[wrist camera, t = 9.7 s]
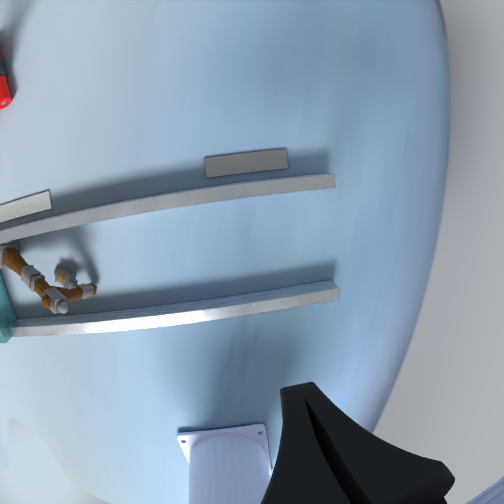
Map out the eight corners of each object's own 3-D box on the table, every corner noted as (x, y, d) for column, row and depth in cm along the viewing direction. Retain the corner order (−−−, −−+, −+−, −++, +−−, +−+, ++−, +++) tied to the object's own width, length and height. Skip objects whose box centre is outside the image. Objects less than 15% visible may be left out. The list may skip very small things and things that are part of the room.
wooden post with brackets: (103, 307, 19) (55, 327, 15) (38, 258, 20) (-5, 267, 16) (107, 284, 18) (57, 300, 14) (41, 238, 20) (-4, 244, 16)
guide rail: (331, 289, 21) (345, 305, 19) (12, 328, 19) (-2, 342, 17) (323, 146, 18) (338, 144, 16) (-22, 213, 16) (-41, 219, 14)
